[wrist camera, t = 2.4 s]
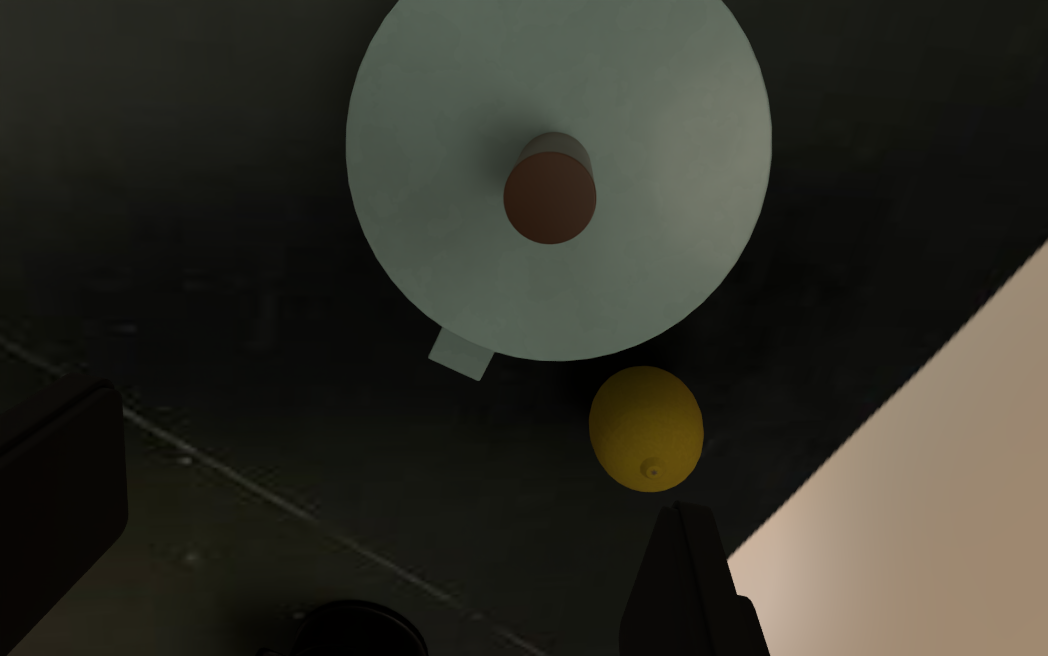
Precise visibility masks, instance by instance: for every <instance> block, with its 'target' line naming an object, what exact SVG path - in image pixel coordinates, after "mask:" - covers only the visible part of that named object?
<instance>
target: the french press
mask: <svg viewBox="0 0 1048 656" xmlns="http://www.w3.org/2000/svg"><path fill="white" fill-rule="evenodd" d="M327 646H344V647H350V648H356V650H355V653H354V656H428V651H427V647H426V644H425V642H424V640H423V638H422V636H421V635H420V633H419V632H418V631H417V629H416V628H415V627H414V626H413V625H412V624H411V623H410V622H409V621H408V620H406V619H405V618H403V617H402V616H400V615H399V614H397V613H395V612H393V611H391V610H389V609H387V608H385V607H382V606H379V605H376V604H373V603H367V602H361V601H342V602H335V603H331V604H328V605H325V606H322V607H320V608H318V609H316V610H315V611H313V612H311V613H310V614H309V615H308V616H307V617H306V618H305V619H304V620H303V622H302V623H301V625H300V626H299V628H298V630H297V632H296V636H295V639H294V646H293V648H292V650H291V652H290V654H289V656H314V655H313V651H312V649H315V648H320V647H327ZM255 656H285V655H283V654H280V653H278V652H275V651H272V650H270V649H267V648H260V649H259V651H258V652H257V653H256V655H255Z"/></svg>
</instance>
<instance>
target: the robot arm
mask: <svg viewBox="0 0 1048 656" xmlns="http://www.w3.org/2000/svg"><path fill="white" fill-rule="evenodd" d="M127 520H128V500H127V481H126V463H125V445H124V426H123V408H122V397H121V394H120V392H119V391H117V390H114V386H113V384H112V382H111V381H109V380H107V379H103V378H99V377H94V376H89V375H85V374H80V373H69V374H66V375H64V376H63V377H61V378H59V379H58V380H56V381H55V382H53V383H51V384H50V385H48V386H47V387H45V388H43V389H42V390H40V391H39V392H37V393H35V394H34V395H32V396H30V397H29V398H27V399H26V400H24V401H22V402H21V403H19V404H18V405H16V406H14V407H13V408H11V409H9V410H8V411H6V412H5V413H3V414H1V415H0V656H7V655H8V654H9V652H10V651H11V650H12V649H13V648H14V647H15V646H16V645H17V644H18V643H19V642H20V641H21V640H22V639H23V638H24V637H25V636H26V635H27V634H28V633H29V632H30V630H31V629H32V628H33V627H34V626H35V625H36V624H37V623H38V622H39V621H40V620H41V619H42V618H43V617H44V616H45V615H46V614H47V613H48V612H49V611H50V609H51V608H52V607H53V606H54V605H55V604H56V603H57V602H58V601H59V600H60V599H61V598H62V597H63V596H64V595H65V594H66V593H67V592H68V591H69V590H70V589H71V587H72V586H73V585H74V584H75V583H76V582H77V581H78V580H79V579H80V578H81V577H82V576H83V575H84V574H85V573H86V572H87V571H88V570H89V569H90V568H91V567H92V565H93V564H94V563H95V562H96V561H97V560H98V559H99V558H100V557H101V556H102V555H103V554H104V553H105V552H106V551H107V550H108V549H109V548H110V547H111V546H112V544H113V543H114V542H115V541H116V540H117V539H118V538H119V537H120V536H121V534H122V533H123V531H124V529H125V527H126V524H127ZM619 652H620V656H770V654H769V650H768V647H767V644H766V641H765V638H764V635H763V632H762V629H761V626H760V623H759V620H758V617H757V614H756V610H755V608H754V606H753V604H752V602H751V600H750V599H748V597H745V596H741V595H737V593H736V590H735V586H734V583H733V580H732V576H731V573H730V570H729V566H728V563H727V560H726V556H725V553H724V550H723V546H722V543H721V540H720V536H719V533H718V530H717V526H716V523H715V520H714V516H713V513H712V511H711V509H710V508H709V507H706V506H701V505H696V504H692V503H687V502H682V501H675V502H674V504H673V505H672V508H669V507H662V509H661V510H660V513H659V515H658V518H657V521H656V524H655V527H654V529H653V532H652V535H651V538H650V541H649V544H648V546H647V549H646V552H645V555H644V558H643V561H642V563H641V566H640V569H639V572H638V575H637V578H636V580H635V583H634V586H633V589H632V592H631V595H630V597H629V600H628V603H627V606H626V609H625V611H624V614H623V617H622V620H621V625H620V631H619Z"/></svg>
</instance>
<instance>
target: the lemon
mask: <svg viewBox="0 0 1048 656" xmlns="http://www.w3.org/2000/svg"><path fill="white" fill-rule="evenodd" d="M589 430H590V439H591V442H592V445H593V448H594V451H595V454H596V456H597V458H598V460H599V462H600V463H601V465H602V466H603V467H604V469H605V470H606V471H607V473H608V474H609V475H610V476H611V477H612V478H614V479H615V480H616V481H617V482H619V483H620V484H622V485H624V486H626V487H628V488H630V489H633V490H637V491H642V492H657V491H662V490H666V489H669V488H671V487H674V486H676V485H677V484H679V483H680V482H681V481H683V480H684V479H685V478H686V477H687V476H688V475H689V474H690V473H691V472H692V471H693V469H694V468H695V466H696V463H697V461H698V459H699V457H700V455H701V450H702V444H703V437H704V431H703V423H702V415H701V411H700V409H699V407H698V405H697V402H696V400H695V398H694V396H693V394H692V393H691V392H690V390H689V389H688V388H687V387H686V386H685V385H684V383H683V382H682V381H681V380H680V379H678V378H677V377H675V376H674V375H672V374H671V373H669V372H667V371H665V370H662V369H659V368H657V367H650V366H636V367H630V368H627V369H624V370H621V371H619V372H617V373H616V374H614V375H613V376H611V377H610V378H609V379H608V380H607V381H606V382H605V383H604V384H603V385H602V386H601V387H600V389H599V390H598V392H597V394H596V396H595V398H594V399H593V402H592V406H591V411H590V415H589Z"/></svg>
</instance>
